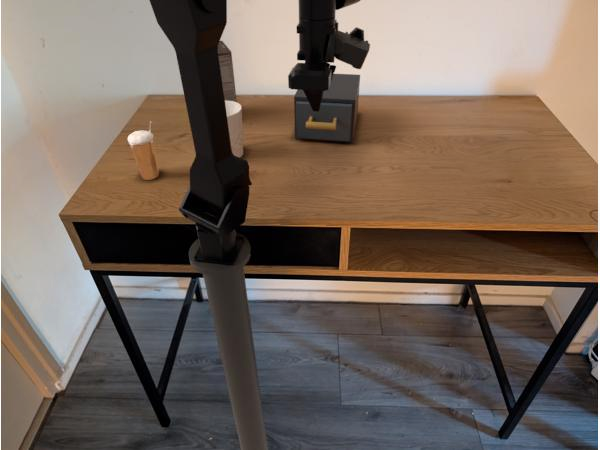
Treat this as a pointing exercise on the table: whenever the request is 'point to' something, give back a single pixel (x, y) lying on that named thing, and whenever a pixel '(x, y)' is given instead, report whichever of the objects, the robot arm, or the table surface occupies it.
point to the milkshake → (144, 153)
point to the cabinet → (337, 98)
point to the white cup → (235, 127)
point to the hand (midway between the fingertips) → (316, 110)
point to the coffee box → (227, 72)
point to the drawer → (324, 121)
